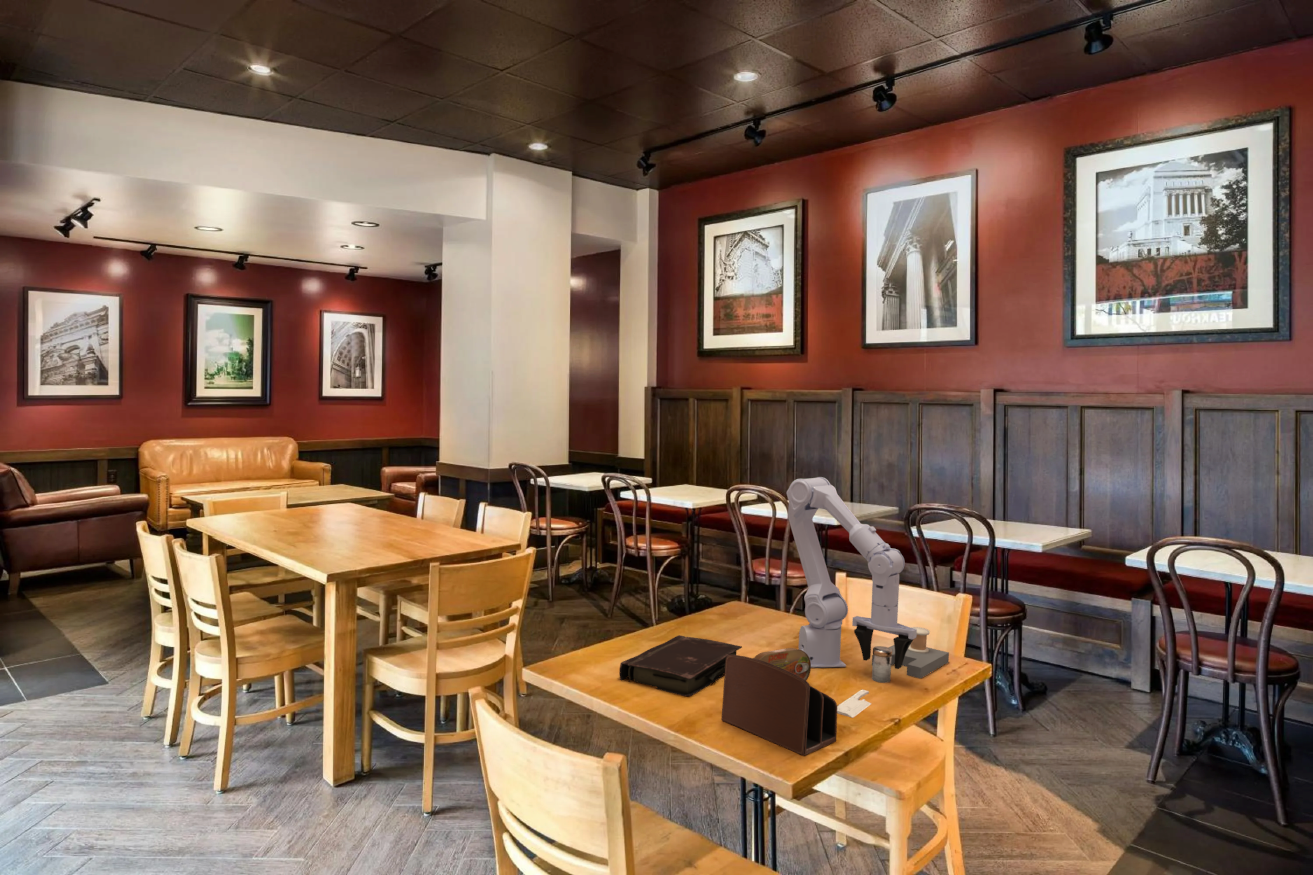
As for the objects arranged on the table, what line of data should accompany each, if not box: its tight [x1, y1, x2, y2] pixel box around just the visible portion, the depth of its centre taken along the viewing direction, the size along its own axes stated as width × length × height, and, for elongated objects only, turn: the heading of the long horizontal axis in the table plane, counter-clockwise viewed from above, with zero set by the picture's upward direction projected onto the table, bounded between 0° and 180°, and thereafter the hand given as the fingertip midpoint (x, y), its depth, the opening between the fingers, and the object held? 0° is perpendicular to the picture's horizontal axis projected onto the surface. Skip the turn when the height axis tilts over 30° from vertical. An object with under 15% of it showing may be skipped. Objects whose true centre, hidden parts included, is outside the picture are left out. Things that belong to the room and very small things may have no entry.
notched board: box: [871, 626, 950, 679], centre depth 193 cm, size 16×12×8 cm
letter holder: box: [721, 654, 838, 756], centre depth 152 cm, size 10×20×14 cm, turn 43°
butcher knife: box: [837, 689, 872, 718], centre depth 167 cm, size 5×15×1 cm, turn 143°
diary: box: [618, 634, 743, 697], centre depth 183 cm, size 19×25×5 cm
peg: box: [871, 645, 892, 684], centre depth 182 cm, size 4×4×7 cm
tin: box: [753, 647, 812, 682], centre depth 175 cm, size 15×3×8 cm, turn 117°
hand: (882, 663), depth 182 cm, fingers open, 7 cm apart
